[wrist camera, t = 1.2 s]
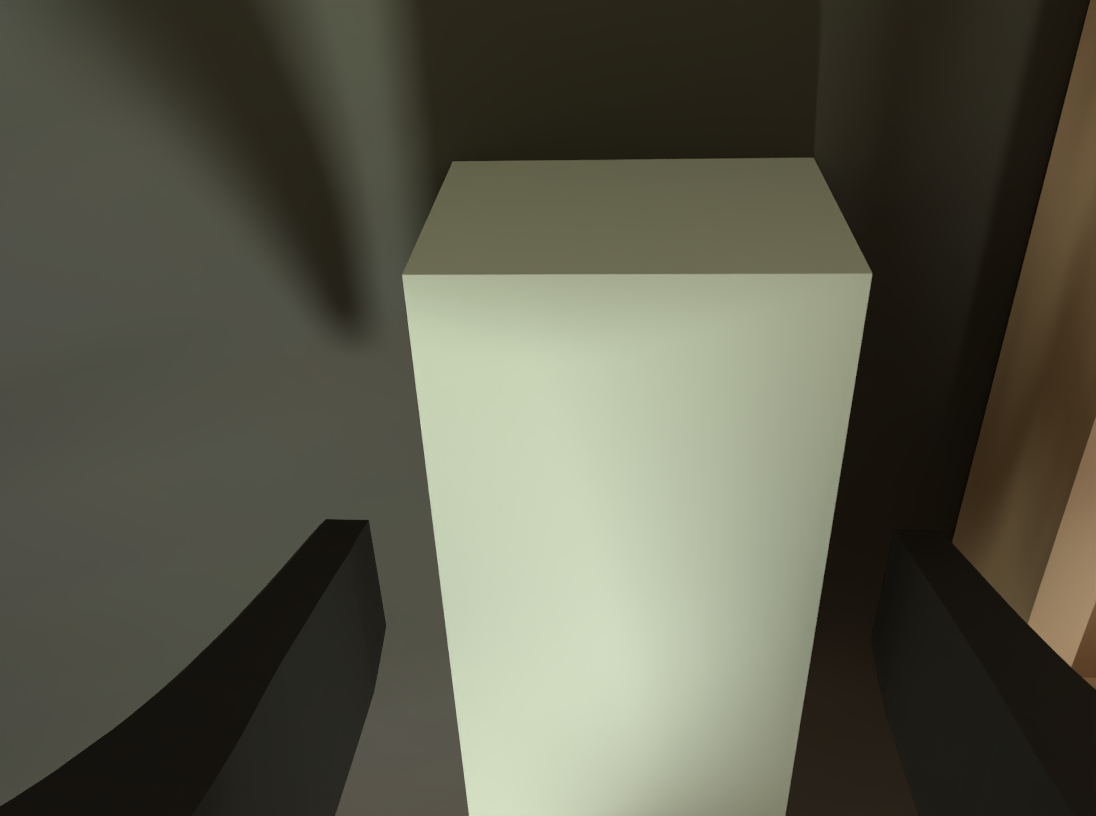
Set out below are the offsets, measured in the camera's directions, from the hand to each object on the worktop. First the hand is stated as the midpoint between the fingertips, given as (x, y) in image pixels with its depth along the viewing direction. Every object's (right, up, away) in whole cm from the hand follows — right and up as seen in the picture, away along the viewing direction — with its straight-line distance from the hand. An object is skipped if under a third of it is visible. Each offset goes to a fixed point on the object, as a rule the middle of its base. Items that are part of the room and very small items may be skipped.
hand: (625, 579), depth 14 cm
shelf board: (0, +2, +3) cm, 3 cm away
